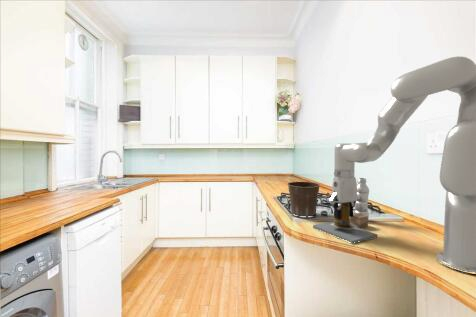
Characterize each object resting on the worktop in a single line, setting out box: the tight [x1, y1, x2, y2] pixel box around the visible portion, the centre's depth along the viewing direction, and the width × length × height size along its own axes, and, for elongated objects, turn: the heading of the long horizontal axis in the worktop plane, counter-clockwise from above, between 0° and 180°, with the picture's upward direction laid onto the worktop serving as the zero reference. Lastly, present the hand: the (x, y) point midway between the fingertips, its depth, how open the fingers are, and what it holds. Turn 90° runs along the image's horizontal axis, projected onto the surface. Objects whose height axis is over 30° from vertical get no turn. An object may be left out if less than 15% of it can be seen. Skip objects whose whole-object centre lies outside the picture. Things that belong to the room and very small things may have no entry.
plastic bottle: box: [353, 177, 370, 219], centre depth 117 cm, size 6×7×20 cm
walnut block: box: [350, 213, 369, 229], centre depth 110 cm, size 5×5×5 cm
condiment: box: [329, 200, 357, 229], centre depth 102 cm, size 7×8×12 cm
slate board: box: [312, 220, 378, 243], centre depth 103 cm, size 20×14×1 cm
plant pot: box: [286, 181, 321, 217], centre depth 127 cm, size 16×16×16 cm
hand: (343, 216), depth 102 cm, fingers closed on condiment, 6 cm apart
